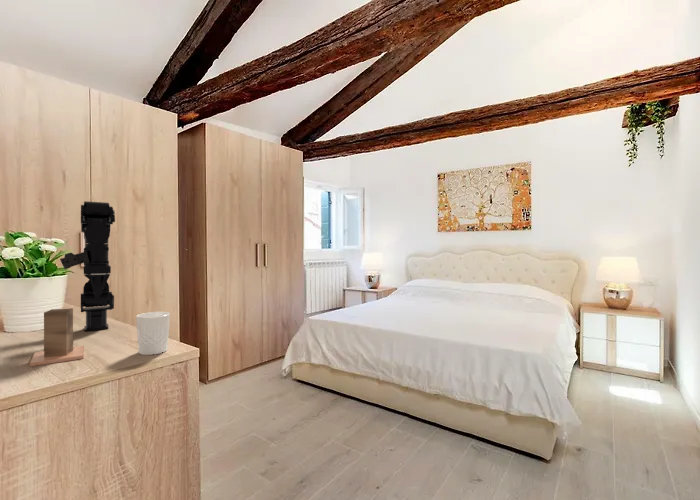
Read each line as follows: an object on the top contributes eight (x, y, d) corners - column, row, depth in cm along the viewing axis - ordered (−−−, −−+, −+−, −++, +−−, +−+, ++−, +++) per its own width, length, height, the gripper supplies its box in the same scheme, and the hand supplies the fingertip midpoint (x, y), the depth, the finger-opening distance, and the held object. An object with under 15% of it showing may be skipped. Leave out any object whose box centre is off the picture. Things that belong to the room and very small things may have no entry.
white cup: (144, 358, 89) (144, 318, 89) (131, 351, 94) (131, 314, 94) (175, 350, 95) (175, 314, 95) (161, 345, 100) (161, 310, 100)
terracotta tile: (35, 355, 90) (35, 351, 90) (84, 348, 96) (84, 345, 96) (29, 366, 82) (29, 363, 82) (83, 358, 88) (83, 355, 88)
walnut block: (51, 351, 90) (51, 309, 90) (73, 350, 92) (73, 308, 92) (44, 357, 86) (43, 312, 86) (66, 355, 88) (66, 311, 88)
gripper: (64, 243, 108) (64, 293, 108) (59, 243, 93) (60, 302, 93) (108, 243, 115) (108, 291, 115) (110, 244, 100) (110, 299, 100)
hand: (96, 295), depth 106 cm, fingers open, 9 cm apart
